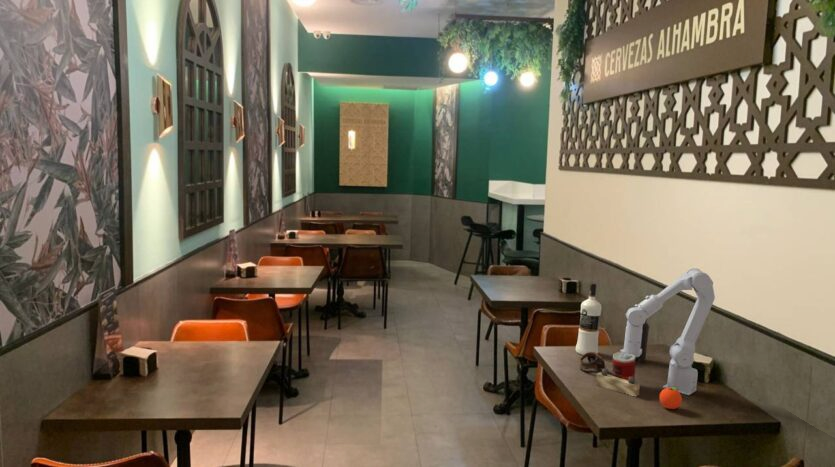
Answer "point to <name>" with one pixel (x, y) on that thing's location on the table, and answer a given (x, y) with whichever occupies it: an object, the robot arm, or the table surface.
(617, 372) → the canned food
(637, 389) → the maple stop bar
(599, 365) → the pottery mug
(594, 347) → the vodka
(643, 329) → the bottle
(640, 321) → the robot arm
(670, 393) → the clementine
